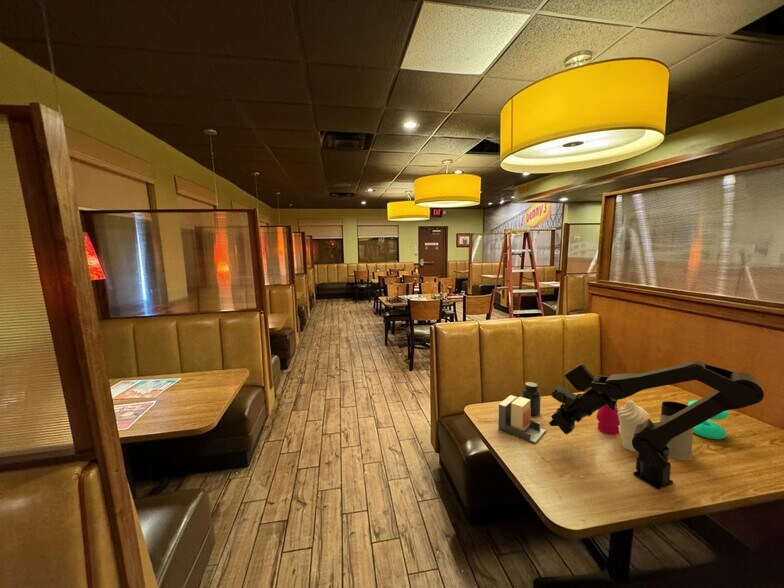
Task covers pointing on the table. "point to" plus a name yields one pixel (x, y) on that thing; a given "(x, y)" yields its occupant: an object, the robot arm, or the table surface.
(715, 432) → the donuts
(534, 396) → the supplement bottle
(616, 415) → the pepper mill
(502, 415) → the press stand
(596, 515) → the table surface
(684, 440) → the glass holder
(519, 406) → the cream block orange label
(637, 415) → the soft serve ice cream cone
